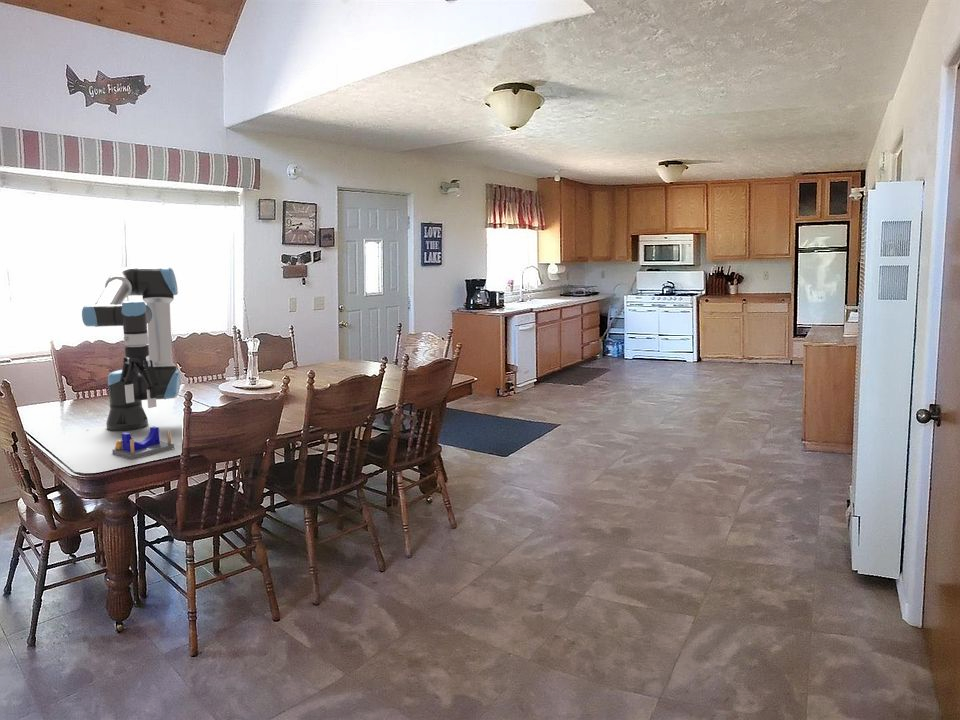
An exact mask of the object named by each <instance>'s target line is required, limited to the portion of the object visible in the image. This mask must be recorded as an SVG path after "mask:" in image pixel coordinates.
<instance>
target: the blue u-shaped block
mask: <svg viewBox="0 0 960 720" xmlns="http://www.w3.org/2000/svg"><path fill="white" fill-rule="evenodd" d="M131 439H133V438H132V434H131V433H129V432H122V433H121V440H122V444H123V450H125V451H128V452H131V449H130V440H131ZM160 439H161V438H160V428H159V427H157V426H154V425H153V426H150V427H149V433H148V435H146V437H145V438H144V439H143V440H140V441H134V450H135V451H136V450H140V449H144V448H146V447H148V446H152V445H156V444H160V441H161V440H160Z"/></svg>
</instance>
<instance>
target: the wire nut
mask: <svg viewBox="0 0 960 720" xmlns="http://www.w3.org/2000/svg"><path fill="white" fill-rule="evenodd" d="M114 446H115V447H114V449H118V450H121V449H123V444H122V439H121V440H120V439H117V440H116V442H115V445H114Z"/></svg>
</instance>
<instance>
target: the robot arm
mask: <svg viewBox="0 0 960 720" xmlns="http://www.w3.org/2000/svg"><path fill="white" fill-rule="evenodd" d="M178 290H179V289H178V284H177V277H176V274H175V272H174V270H173V268H172V267H170V266H160V265H158V266H157V265H156V266H130V267H129V266H128V267H125V268H123V269H120V270H118V271H116V272H114V273H113V274H112V275H110V276H109V277H108V278H107V279H106V281H105V284H104V289H103V291H102V292H101V294H100V296H99V298H98V299H97V300H96V302H95V303H94V304H90V305H84V306H83V307H82V309H81V317H82V322H83V325H84V326H85V327H95V328H97V327H121V326H122V328H123V340H124V342H123V343H124V345H125V346H124V353H125V354H124V355H125V357H123V363H122V364H123V365H122V369H118V370H115V371H112V372H110V373H109V374H108V375H107V390H108V400H109V412H108V415H107V420H106V424H105V426H106V429H107V430H109V431H119V432H120V431H131V430H136V429H137V430H138V429H142V428H145V427H147V426H148V425H149V419H148V417H147V414H146V411H145V410H144V408H143V403H142V401H147V408H148V409H151V408H155V407H157V400H167V399H168V400H169V399H175V398H177V397H178V395H179V394H180V389H181V382H182V380H181V379H182V377H181V376H182V375H181V374H182V373H181V370H180V369H177V365H176V364H175V363H174V362H173V354H172V353H173V352H172V351H173V350H172V328H171V327H172V326H171V303H173V301H174V300H175V298H174V296H178V293H179V292H178ZM129 296H142V300H128V301H127V300H126V301H124V300H125V299H126V298H128V297H129ZM147 357H148V360H147Z"/></svg>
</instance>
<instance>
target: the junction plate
mask: <svg viewBox="0 0 960 720" xmlns="http://www.w3.org/2000/svg"><path fill="white" fill-rule="evenodd" d="M166 436H167V442H166V441H161V440H160V444H156V445H152V446H148V447H146V448H144V449H140V450H136V451H135V450H134V438H132V439H131V440H130V449H131V452H128V451H125V450H123V449H121V450H118V449H115V448H112V449H111V450H112V451H111V452H112V454H113V455H115V454H116V455H117V456H119V455H120V456H119V457H122V456H123V458H126V457H127V459H129V458H131V459H130V460H134V458H135V459H138V457H139V458H143V457H146V456H145V455H147V456H149V454H150V455H154V454H157V452H158V453H162V452H166V451H168V450H169V449H170V450H173V449H172V448H174V449H175V444H174V443H172V431H171V430H167V431H166ZM165 450H166V451H165ZM161 451H162V452H161ZM153 453H154V454H153ZM142 456H143V457H142Z"/></svg>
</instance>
